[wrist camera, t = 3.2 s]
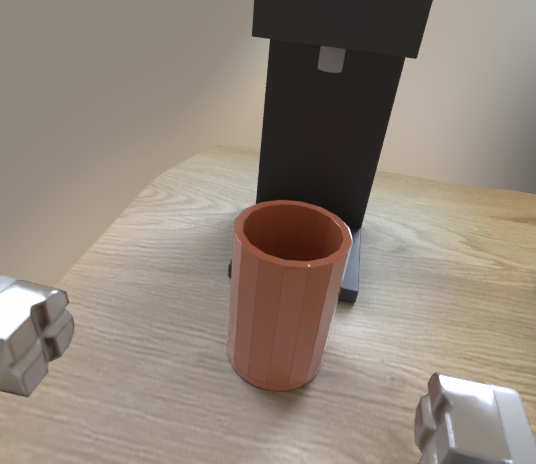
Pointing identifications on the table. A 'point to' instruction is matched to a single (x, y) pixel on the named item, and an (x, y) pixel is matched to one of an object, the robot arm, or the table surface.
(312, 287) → the cup
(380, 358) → the table surface
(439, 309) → the table surface
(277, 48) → the coffee maker
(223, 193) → the table surface
